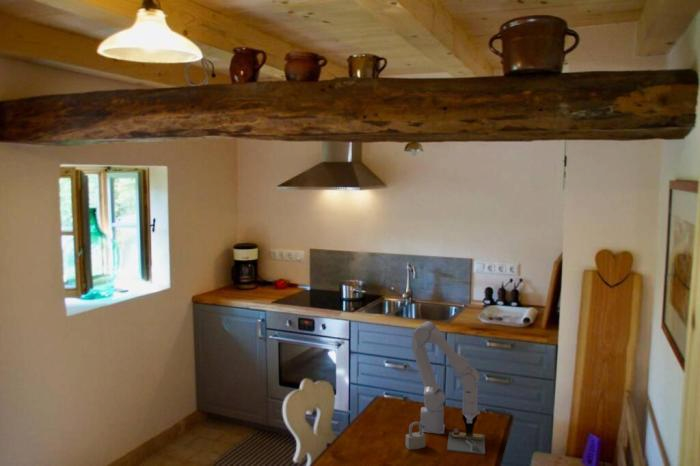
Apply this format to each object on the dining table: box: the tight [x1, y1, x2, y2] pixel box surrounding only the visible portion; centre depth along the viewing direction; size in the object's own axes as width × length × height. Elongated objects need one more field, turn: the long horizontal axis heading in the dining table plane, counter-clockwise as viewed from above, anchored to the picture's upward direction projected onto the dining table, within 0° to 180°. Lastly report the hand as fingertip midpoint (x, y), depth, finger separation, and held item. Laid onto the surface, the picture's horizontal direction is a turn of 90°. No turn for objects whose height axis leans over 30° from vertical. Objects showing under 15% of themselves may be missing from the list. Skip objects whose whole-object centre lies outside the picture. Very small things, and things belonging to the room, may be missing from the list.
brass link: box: [451, 431, 483, 440], centre depth 225 cm, size 12×4×1 cm, turn 77°
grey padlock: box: [405, 421, 426, 451], centre depth 218 cm, size 7×4×10 cm, turn 109°
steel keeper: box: [466, 439, 476, 450], centre depth 216 cm, size 4×2×2 cm, turn 22°
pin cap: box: [453, 428, 460, 434], centre depth 225 cm, size 2×2×1 cm
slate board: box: [446, 431, 486, 455], centre depth 221 cm, size 14×16×1 cm
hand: (469, 433), depth 227 cm, fingers closed
